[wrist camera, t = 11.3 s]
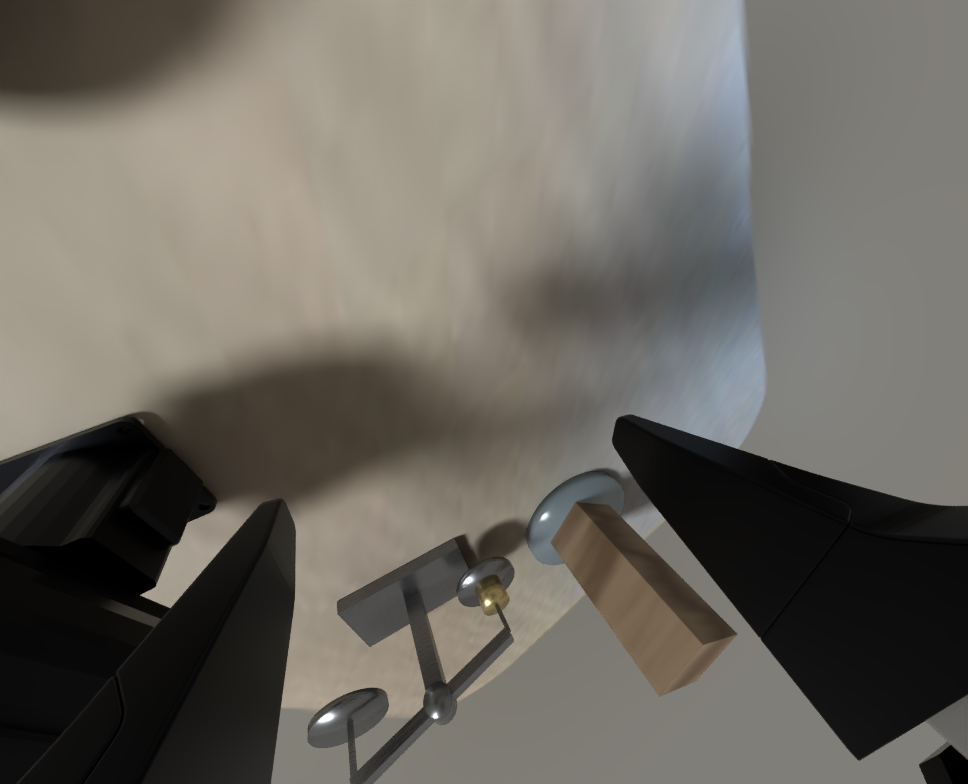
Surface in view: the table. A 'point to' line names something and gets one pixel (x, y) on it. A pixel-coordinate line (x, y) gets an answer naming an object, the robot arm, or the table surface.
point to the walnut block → (641, 597)
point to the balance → (394, 608)
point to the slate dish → (560, 503)
